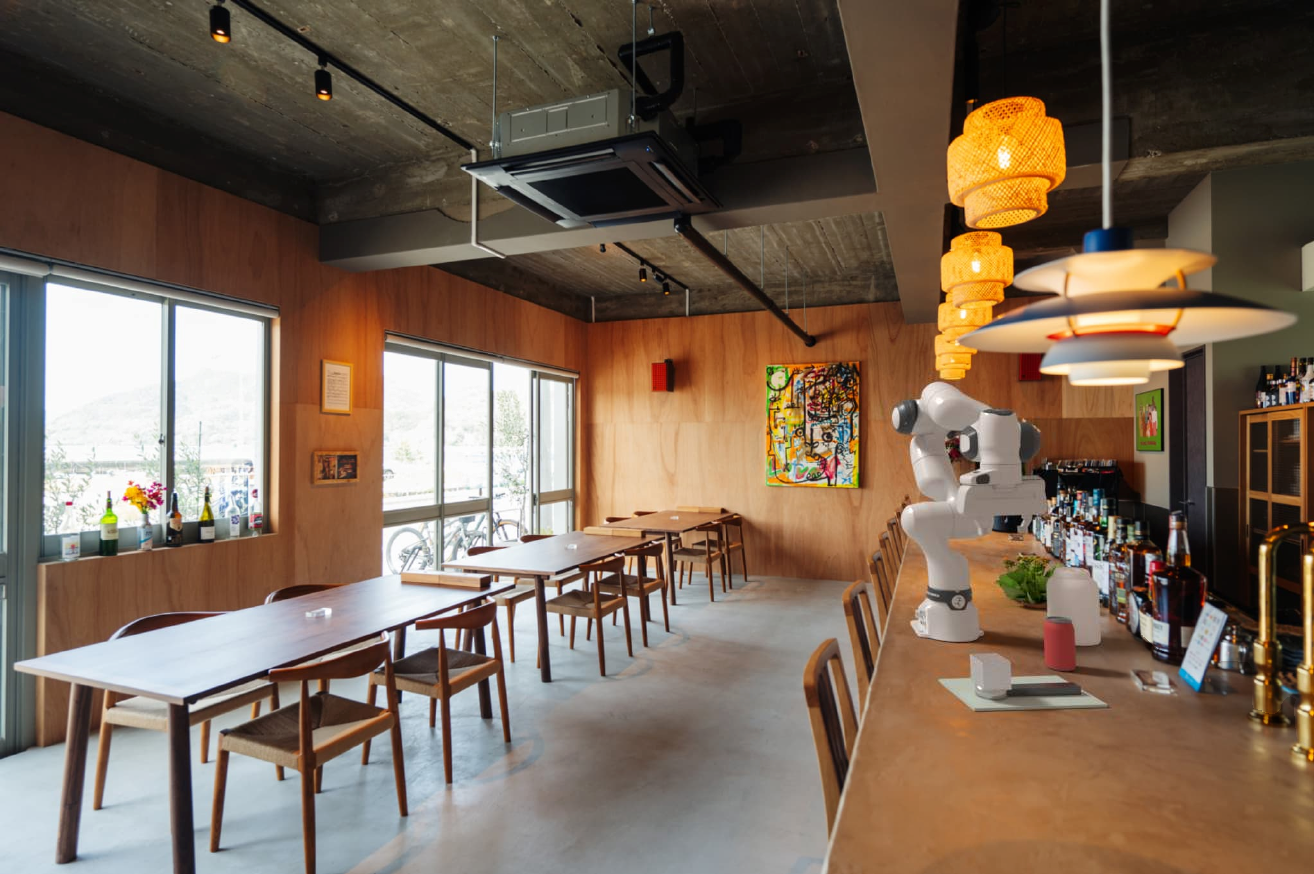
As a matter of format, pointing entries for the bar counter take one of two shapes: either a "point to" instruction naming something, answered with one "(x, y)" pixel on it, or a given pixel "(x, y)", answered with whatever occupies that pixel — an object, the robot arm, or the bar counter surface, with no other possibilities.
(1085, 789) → the bar counter surface
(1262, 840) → the bar counter surface
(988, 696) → the lever
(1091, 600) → the white plastic canister
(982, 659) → the grey box
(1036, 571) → the potted flower
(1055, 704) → the mat
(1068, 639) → the beer can
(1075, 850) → the bar counter surface
